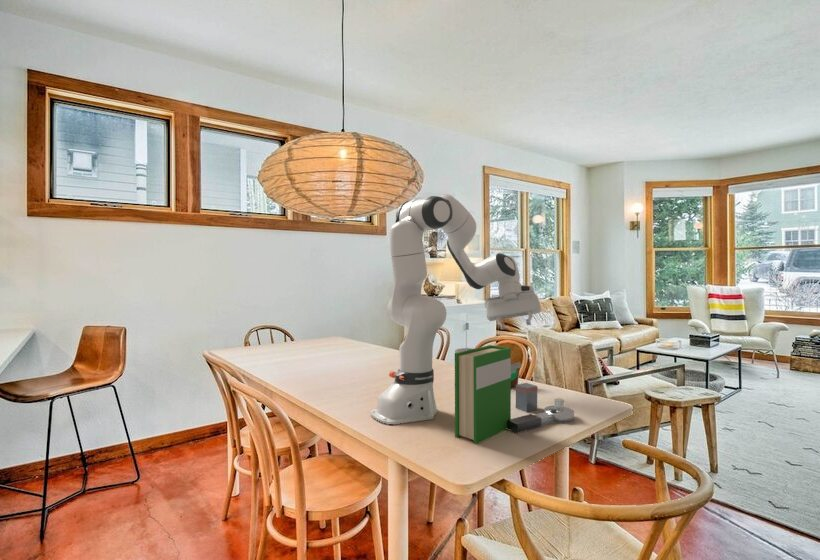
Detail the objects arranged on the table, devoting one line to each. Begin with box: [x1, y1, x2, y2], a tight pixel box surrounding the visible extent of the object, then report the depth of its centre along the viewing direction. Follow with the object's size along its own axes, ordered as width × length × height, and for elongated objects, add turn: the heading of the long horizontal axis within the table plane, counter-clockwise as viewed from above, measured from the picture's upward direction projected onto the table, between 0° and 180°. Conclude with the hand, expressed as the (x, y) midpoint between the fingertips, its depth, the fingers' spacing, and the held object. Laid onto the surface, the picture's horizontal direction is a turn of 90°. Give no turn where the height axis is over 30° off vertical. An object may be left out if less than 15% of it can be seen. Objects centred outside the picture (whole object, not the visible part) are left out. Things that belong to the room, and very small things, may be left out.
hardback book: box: [454, 344, 512, 445], centre depth 128 cm, size 18×7×24 cm, turn 136°
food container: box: [511, 361, 522, 389], centre depth 176 cm, size 12×6×10 cm, turn 70°
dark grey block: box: [515, 382, 538, 413], centre depth 149 cm, size 5×5×8 cm
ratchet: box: [506, 397, 575, 434], centre depth 135 cm, size 25×9×6 cm, turn 121°
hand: (515, 326), depth 161 cm, fingers open, 8 cm apart
